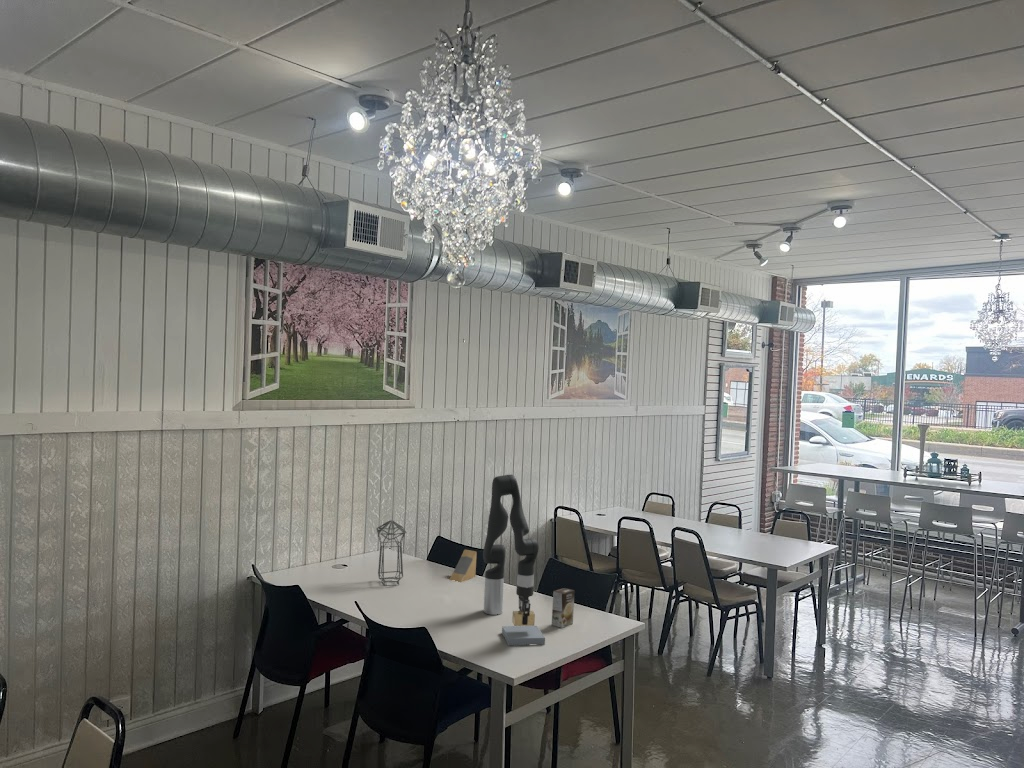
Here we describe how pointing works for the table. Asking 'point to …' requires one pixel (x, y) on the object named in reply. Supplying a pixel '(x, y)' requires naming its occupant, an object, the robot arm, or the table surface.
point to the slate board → (523, 635)
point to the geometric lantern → (390, 546)
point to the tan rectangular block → (518, 617)
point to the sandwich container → (465, 567)
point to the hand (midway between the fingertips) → (523, 622)
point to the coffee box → (563, 607)
